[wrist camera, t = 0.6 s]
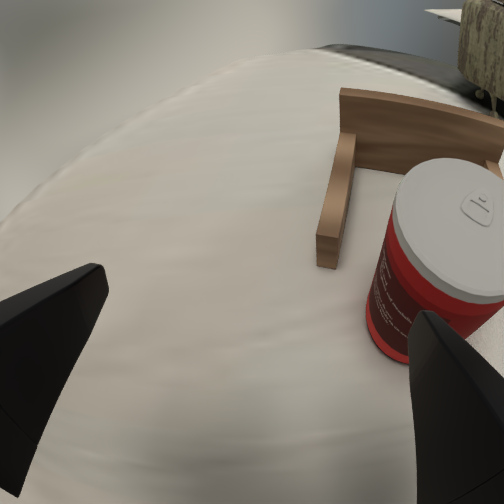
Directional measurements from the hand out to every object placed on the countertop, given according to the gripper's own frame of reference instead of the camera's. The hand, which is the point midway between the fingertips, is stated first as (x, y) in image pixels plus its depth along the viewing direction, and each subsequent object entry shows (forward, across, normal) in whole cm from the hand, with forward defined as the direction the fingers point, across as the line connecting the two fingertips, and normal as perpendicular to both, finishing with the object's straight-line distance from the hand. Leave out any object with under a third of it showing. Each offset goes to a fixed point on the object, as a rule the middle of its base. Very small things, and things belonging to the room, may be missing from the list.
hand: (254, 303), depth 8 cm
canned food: (+10, -11, +8) cm, 17 cm away
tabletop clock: (+39, -31, -11) cm, 51 cm away
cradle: (+18, -12, +4) cm, 22 cm away
